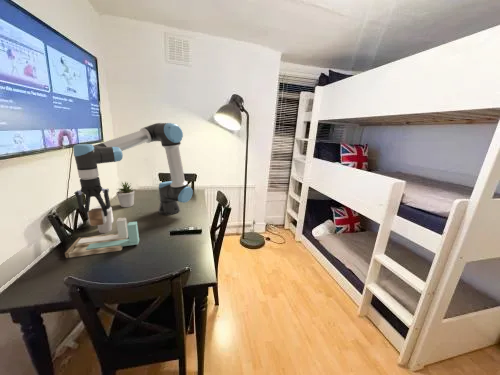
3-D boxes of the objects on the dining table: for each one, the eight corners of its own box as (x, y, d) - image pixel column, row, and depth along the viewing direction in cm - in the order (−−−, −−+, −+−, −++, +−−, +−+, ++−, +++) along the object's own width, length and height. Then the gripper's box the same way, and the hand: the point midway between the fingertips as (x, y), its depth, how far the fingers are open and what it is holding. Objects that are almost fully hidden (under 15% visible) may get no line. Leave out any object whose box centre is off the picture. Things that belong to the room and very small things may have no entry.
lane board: (127, 235, 123) (127, 231, 122) (121, 250, 108) (120, 245, 108) (79, 241, 116) (78, 237, 115) (65, 258, 101) (64, 253, 100)
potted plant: (140, 204, 173) (137, 181, 168) (123, 209, 162) (119, 184, 157) (132, 201, 180) (129, 178, 174) (115, 206, 168) (111, 181, 163)
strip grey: (128, 235, 121) (126, 217, 118) (127, 239, 117) (124, 220, 114) (80, 240, 114) (76, 221, 111) (77, 245, 110) (72, 225, 107)
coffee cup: (94, 235, 122) (90, 211, 118) (97, 228, 131) (93, 206, 127) (114, 232, 127) (110, 209, 123) (115, 226, 135) (111, 203, 131)
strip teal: (139, 239, 117) (137, 221, 114) (138, 244, 112) (135, 224, 109) (90, 246, 109) (86, 226, 106) (86, 251, 105) (82, 230, 102)
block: (105, 220, 109) (103, 207, 107) (102, 224, 105) (100, 211, 103) (94, 221, 108) (91, 208, 106) (91, 225, 103) (88, 212, 101)
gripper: (113, 174, 106) (120, 217, 112) (69, 177, 100) (80, 221, 106) (109, 178, 99) (117, 223, 105) (62, 180, 93) (73, 228, 100)
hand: (98, 222), depth 106 cm, fingers closed on block, 5 cm apart
